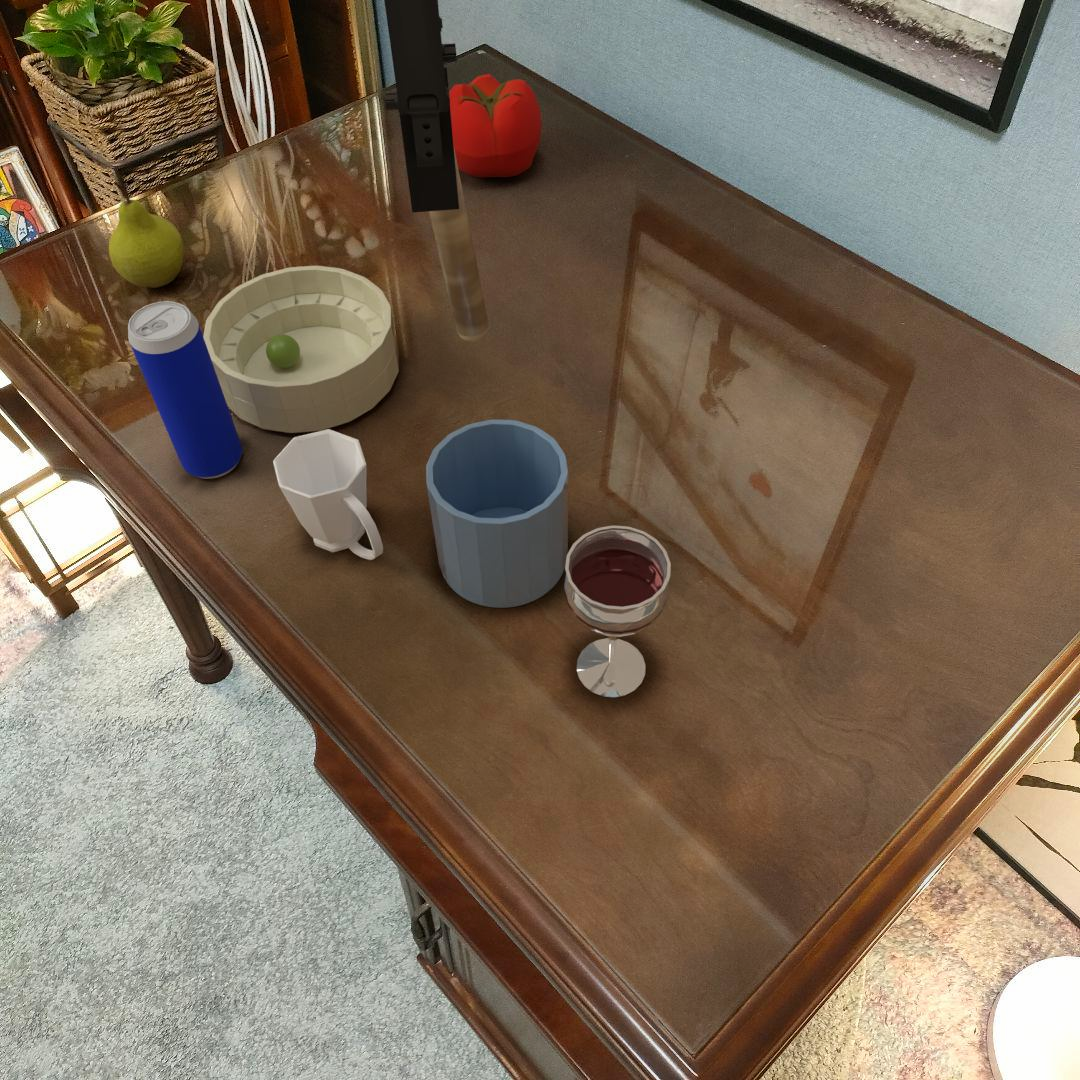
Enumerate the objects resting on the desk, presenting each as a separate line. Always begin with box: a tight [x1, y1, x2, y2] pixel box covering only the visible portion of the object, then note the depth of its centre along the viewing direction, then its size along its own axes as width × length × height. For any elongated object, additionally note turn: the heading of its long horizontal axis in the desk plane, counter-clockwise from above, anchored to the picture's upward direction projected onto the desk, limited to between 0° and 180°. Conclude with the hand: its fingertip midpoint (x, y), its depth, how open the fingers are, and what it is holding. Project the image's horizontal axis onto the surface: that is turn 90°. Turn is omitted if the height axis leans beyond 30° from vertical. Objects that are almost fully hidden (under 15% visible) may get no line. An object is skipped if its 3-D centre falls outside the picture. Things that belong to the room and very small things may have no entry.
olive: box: [266, 335, 300, 368], centre depth 93 cm, size 3×3×3 cm
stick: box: [428, 150, 490, 343], centre depth 61 cm, size 2×2×20 cm
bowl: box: [202, 265, 400, 434], centre depth 91 cm, size 16×16×6 cm
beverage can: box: [127, 300, 243, 480], centre depth 81 cm, size 5×5×15 cm
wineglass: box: [563, 525, 672, 698], centre depth 69 cm, size 7×7×12 cm
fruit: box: [108, 181, 185, 289], centre depth 98 cm, size 7×7×12 cm
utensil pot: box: [425, 418, 569, 609], centre depth 76 cm, size 10×10×10 cm
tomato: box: [449, 73, 543, 178], centre depth 112 cm, size 11×12×9 cm
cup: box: [272, 428, 384, 561], centre depth 78 cm, size 7×10×8 cm
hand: (434, 192), depth 60 cm, fingers closed on stick, 2 cm apart
